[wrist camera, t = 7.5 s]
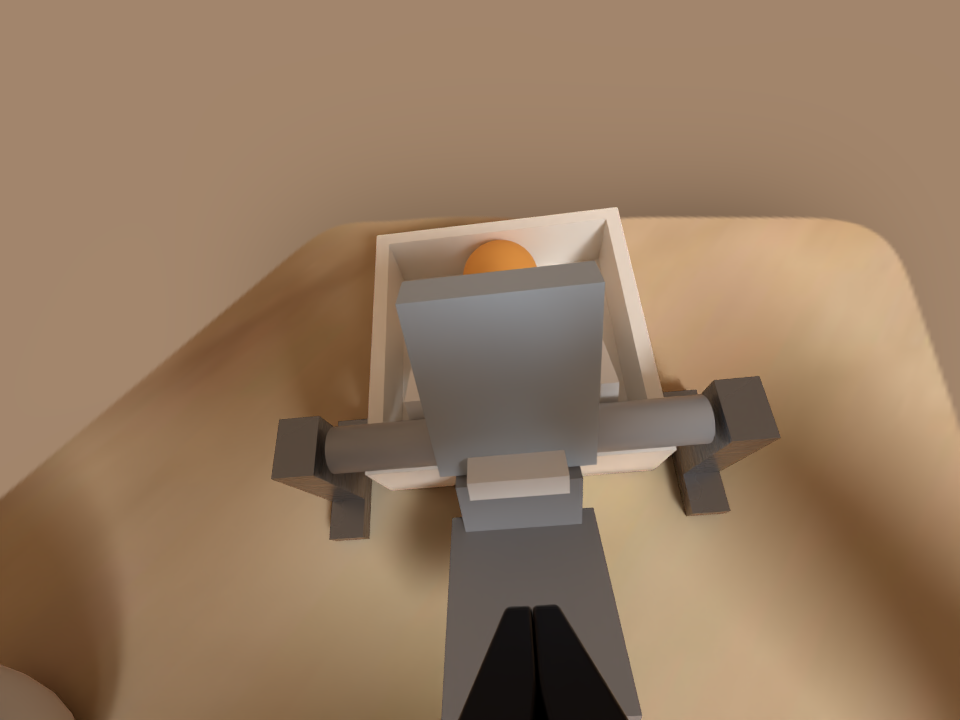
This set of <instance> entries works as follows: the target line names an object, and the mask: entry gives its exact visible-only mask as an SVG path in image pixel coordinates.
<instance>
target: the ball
mask: <svg viewBox="0 0 960 720" xmlns="http://www.w3.org/2000/svg"><path fill="white" fill-rule="evenodd" d="M531 267H537V266H536V263H535V261H534V259H533V257H532V256H531V254H530V253H529V252H528V251H527V250H526V249H525V248H524V247H522V246H521V245H519V244H517V243H515V242H512V241H508V240H494V241H490V242H487V243H485V244H483V245H481V246H479V247H478V248H477V249H476V250H475V251H474V252H473V253H472V254H471V255H470V257H469V258H468V260H467V262H466V264H465V267H464V271H463V275H468V274H477V273H486V272H495V271H504V270H513V269H522V268H531Z"/></svg>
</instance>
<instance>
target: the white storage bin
mask: <svg viewBox="0 0 960 720" xmlns="http://www.w3.org/2000/svg"><path fill="white" fill-rule="evenodd" d="M494 240H508V241H512V242H515V243H517V244H519V245H521V246H522V247H524V248H525V249H526V250H527V251H528V252H529V253H530V254H531V256H532V257H533V259H534V261H535V263H536V266H537V267H541V266H550V265H559V264H568V263H577V262H586V261H595V262H596V264H597V266H598V268H599V270H600V272H601V275H602V277H603V279H604V281H605V295H604V317H603V338H602V339H603V341H604V344H605V347H606V349H607V352H608V354H609V357H610V359H611V362H612V364H613V367H614V370H615V372H616V375H617V377H618V380H619V394H618V402H619V401H631V400H642V399H653V398H664V396H663V391H662V387H661V383H660V379H659V375H658V371H657V367H656V363H655V359H654V355H653V351H652V346H651V342H650V338H649V334H648V330H647V326H646V322H645V318H644V314H643V310H642V306H641V302H640V297H639V293H638V289H637V285H636V281H635V277H634V273H633V269H632V265H631V261H630V257H629V252H628V248H627V244H626V240H625V236H624V232H623V228H622V224H621V220H620V216H619V212H618V208H617V207H615V208H607V209H598V210H589V211H581V212H573V213H564V214H555V215H547V216H538V217H530V218H521V219H513V220H504V221H496V222H487V223H479V224H470V225H462V226H453V227H445V228H436V229H428V230H419V231H411V232H402V233H394V234H385V235H377V243H376V263H375V284H374V304H373V324H372V344H371V365H370V385H369V405H368V424H371V423H382V422H394V421H405V420H409V417H408V413H407V410H406V406H405V403H404V401H405V396H406V391H407V386H408V381H409V375H410V370H411V363H410V359H409V355H408V351H407V348H406V344H405V340H404V336H403V332H402V328H401V325H400V321H399V317H398V313H397V309H396V305H395V303H396V300H397V297H398V293H399V290H400V287H401V283H402V282H404V281H413V280H422V279H431V278H440V277H450V276H459V275H463V271H464V267H465V264H466V262H467V260H468V258H469V257H470V255H471V254H472V253H473V252H474V251H475V250H476V249H477V248H478V247H479V246H481V245H483V244H485V243H487V242H490V241H494ZM676 450H677V449H676V446H673V447H661V448H648V449H636V450H624V451H611V452H599V453H597V465H586V466H580V467H581V472H582V476H585V475H598V474H611V473H624V472H636V471H649V470H654V469H655V468H656V467H657V466H659V465H660V464H661V463H662V462H663V461H664V460H665V459H667V458H668V457H669V456H670V455H671V454H672V453H674V452H675V451H676ZM365 475H366V476H368V477H369V478H371V479H373V480H374V481H376V482H378V483H379V484H381V485H383V486H385V487H386V488H388V489H390V490H391V491H393V490H406V489H419V488H431V487H444V486H456V476H448V477H440V474H439V471H438V467H437V466H427V467H415V468H402V469H390V470H378V471H365Z"/></svg>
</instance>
